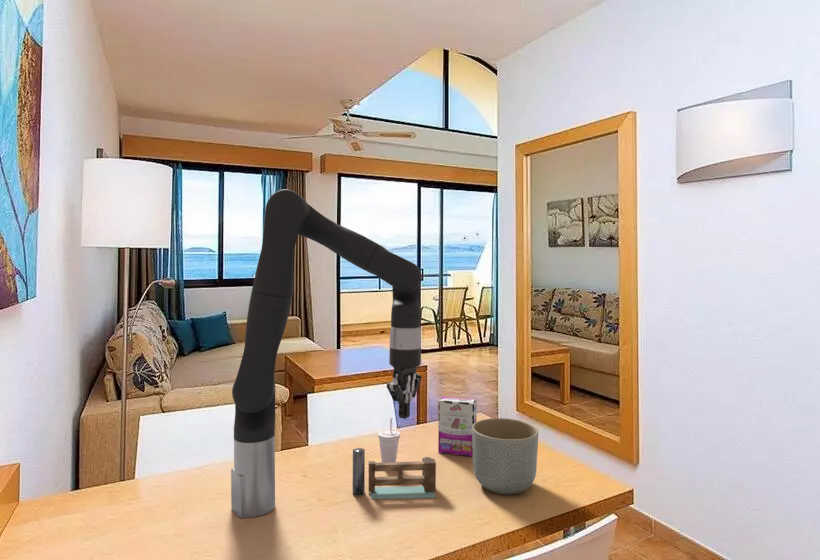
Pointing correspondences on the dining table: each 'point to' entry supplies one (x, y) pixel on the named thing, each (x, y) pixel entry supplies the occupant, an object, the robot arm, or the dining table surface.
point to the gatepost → (358, 472)
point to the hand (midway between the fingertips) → (404, 417)
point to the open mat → (401, 492)
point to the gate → (426, 480)
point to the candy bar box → (456, 425)
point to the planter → (504, 454)
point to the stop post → (423, 460)
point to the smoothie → (389, 444)
